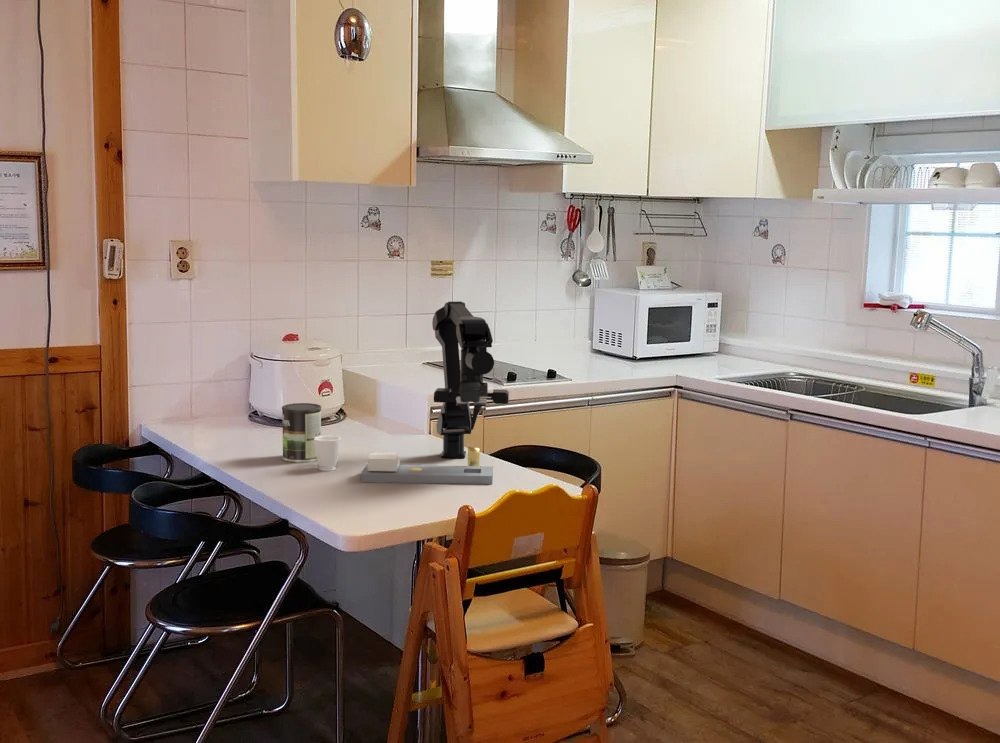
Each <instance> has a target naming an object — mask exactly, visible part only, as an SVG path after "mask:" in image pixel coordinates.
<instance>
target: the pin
mask: <svg viewBox="0 0 1000 743" xmlns="http://www.w3.org/2000/svg"><path fill="white" fill-rule="evenodd" d="M480 450H481V449H480V446H479V447H478V446H470V447H469V446H468V447H467V466H480Z"/></svg>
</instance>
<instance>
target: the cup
mask: <svg viewBox="0 0 1000 743" xmlns="http://www.w3.org/2000/svg"><path fill="white" fill-rule="evenodd" d="M314 442H315V448H316V455H317V463H318V466H319V468H318V470H320V471H323V472H332V471H336V469H337V467H336V465H337V463H338V457H339V453H340V451H339V450H340V443H341V436H337V435H321V436H318V437H315V438H314Z"/></svg>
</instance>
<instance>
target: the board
mask: <svg viewBox="0 0 1000 743" xmlns="http://www.w3.org/2000/svg"><path fill="white" fill-rule="evenodd" d="M493 477H494V466H489V465H488V466H487V465H482V466H480V465H479V466H468V465H432V464H431V465H429V464H427V465H426V464H424V465H423V464H421V465H419V464H399V467H398V469H397V471H368V463H367V464H365V466H364V468H363V469H362V471H361V473H360V483H401V484H402V483H403V484H404V483H407V484H408V483H409V484H457V485H459V484H463V485H464V484H465V485H467V484H468V485H472V484H473V485H493V479H494V478H493Z"/></svg>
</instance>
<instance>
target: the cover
mask: <svg viewBox="0 0 1000 743" xmlns="http://www.w3.org/2000/svg"><path fill="white" fill-rule="evenodd" d="M367 464H368V471H397V469H398V467H399V465H400V452H371V453H370V454H369V456H368V457H367Z"/></svg>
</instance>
